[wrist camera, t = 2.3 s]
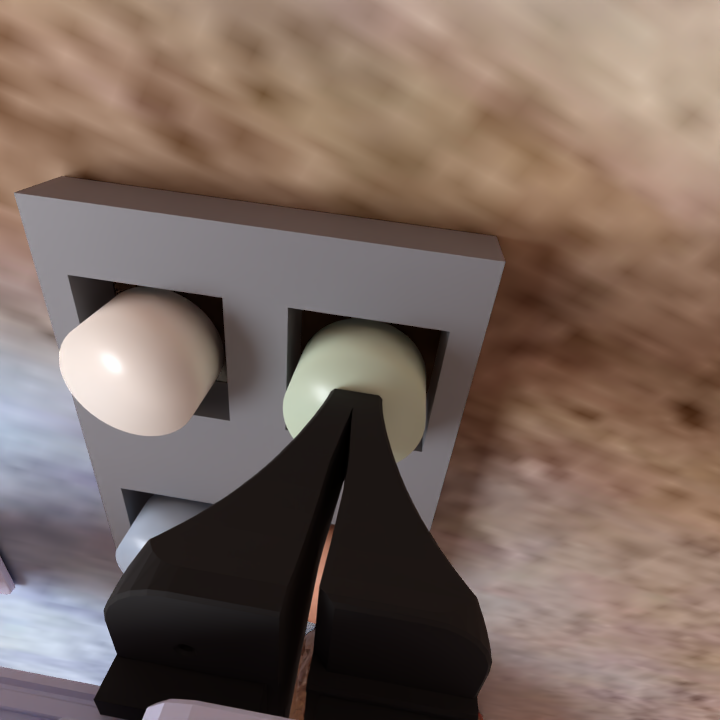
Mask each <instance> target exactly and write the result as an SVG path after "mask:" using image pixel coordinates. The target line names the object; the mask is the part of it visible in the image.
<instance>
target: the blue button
mask: <svg viewBox="0 0 720 720" xmlns="http://www.w3.org/2000/svg"><path fill="white" fill-rule="evenodd" d="M211 505H213V504H211V503H205V502H199V501H193V500H188V499H182V498H176V497H170V496H164V495H158V494H155V495H153V496H152V497H150V498H149V499H148V500H147V502H146V503H145V505H144V507H143V508H142V510H141V511H140V513H139V515H138V516H137V518H136V519H135V521H134V522H133V524H132V526H131V527H130V529H129V530H128V532H127V534H126V535H125V537H124V538H123V540H122V542H121V543H120V545H119V546H118V548H117V550H116V561H117V564H118V566H119V568H120V569H121V571H122V572H123V573H124V572H125V571H126V569H127V567H128V566H129V565H130V563H131V562H132V561H133V559H134V558H135V557H136V555H137V554H138V553H139V551H140V550H141V549H142V548H143V546H144V545H145V544H146V543H147V541H148V540H149V539H151V538H153V537H155V536H157V535H159V534H161V533H163V532H165V531H167V530H169V529H171V528H173V527H175V526H177V525H179V524H181V523H183V522H185V521H186V520H188V519H190V518H192V517H194V516H195V515H197V514H199V513H200V512H202V511H203V510H205V509H207V508H208V507H210V506H211Z"/></svg>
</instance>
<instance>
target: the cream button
mask: <svg viewBox="0 0 720 720" xmlns="http://www.w3.org/2000/svg"><path fill="white" fill-rule="evenodd" d="M223 363H224V349H223V344H222V340H221V338H220V335H219V333H218V331H217V329H216V327H215V326H214V324H213V323H212V321H211V320H210V319H209V317H208V316H207V315H206V314H205V313H204V312H203V311H202V310H201V309H200V308H199V307H198V306H196V305H195V304H194V303H192V302H191V301H190V300H188V299H186V298H185V297H183V296H181V295H179V294H177V293H174V292H172V291H169V290H166V289H160V288H153V287H147V286H145V287H135V288H131V289H128V290H125V291H123V292H121V293H119V294H118V295H117V296H115V297H114V298H113V299H112V300H110V301H109V302H108V303H107V304H105V305H104V306H103V307H101V308H100V309H99V310H98V311H96V312H95V313H94V314H92V315H91V316H90V317H89V318H87V319H86V320H85V321H83V322H82V323H81V324H80V325H78V326H77V327H76V328H75V329H73V330H72V331H71V332H70V333H69V334H68V335H67V336H66V337H65V339H64V340H63V342H62V344H61V348H60V352H59V365H60V370H61V374H62V376H63V379H64V381H65V383H66V385H67V387H68V389H69V390H70V392H71V393H72V395H73V396H74V397H75V398H76V400H77V401H78V402H79V403H80V404H81V405H82V406H83V407H84V408H85V409H86V410H87V411H89V412H90V413H91V414H92V415H94V416H95V417H96V418H98V419H99V420H101V421H103V422H104V423H106V424H108V425H110V426H112V427H114V428H116V429H119V430H121V431H124V432H128V433H131V434H136V435H142V436H161V435H166V434H170V433H173V432H175V431H177V430H179V429H181V428H182V427H183V426H184V425H186V424H187V423H188V421H189V420H190V419H191V417H192V416H193V414H194V413H195V411H196V410H197V408H198V407H199V405H200V404H201V402H202V400H203V399H204V397H205V396H206V394H207V393H208V391H209V390H210V388H211V387H212V385H213V384H214V382H215V381H216V379H217V378H218V376H219V374H220V372H221V370H222V367H223Z"/></svg>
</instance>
